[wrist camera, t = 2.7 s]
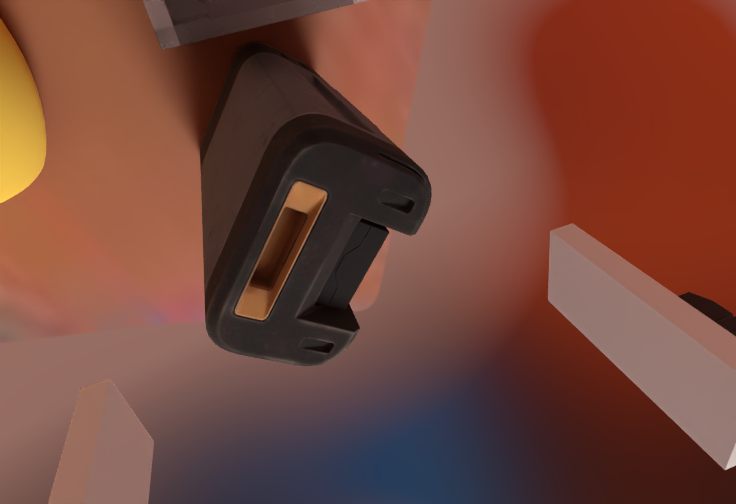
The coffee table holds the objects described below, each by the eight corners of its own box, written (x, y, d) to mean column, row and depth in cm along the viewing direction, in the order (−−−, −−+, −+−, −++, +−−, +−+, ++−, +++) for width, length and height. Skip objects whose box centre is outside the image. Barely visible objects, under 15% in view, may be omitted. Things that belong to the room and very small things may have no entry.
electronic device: (272, 191, 36) (336, 379, 20) (192, 162, 34) (191, 352, 17) (326, 73, 33) (453, 181, 17) (242, 31, 31) (299, 111, 14)
